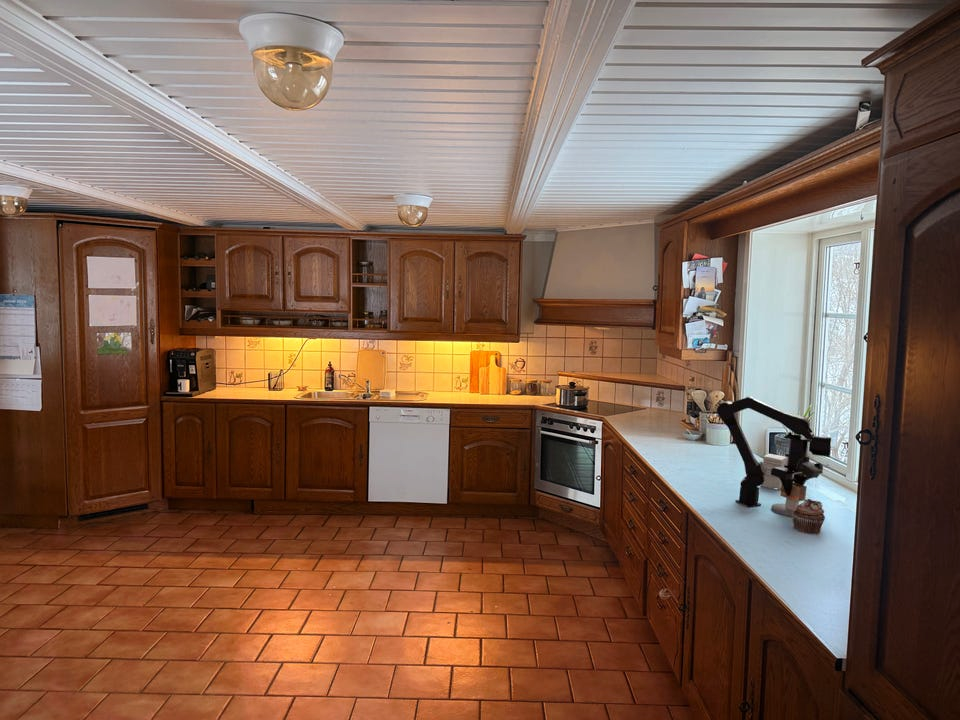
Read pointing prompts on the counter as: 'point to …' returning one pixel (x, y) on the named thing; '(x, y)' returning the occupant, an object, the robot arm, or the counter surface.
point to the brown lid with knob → (785, 507)
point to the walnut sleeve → (795, 492)
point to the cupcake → (808, 517)
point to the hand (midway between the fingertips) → (792, 495)
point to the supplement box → (769, 463)
